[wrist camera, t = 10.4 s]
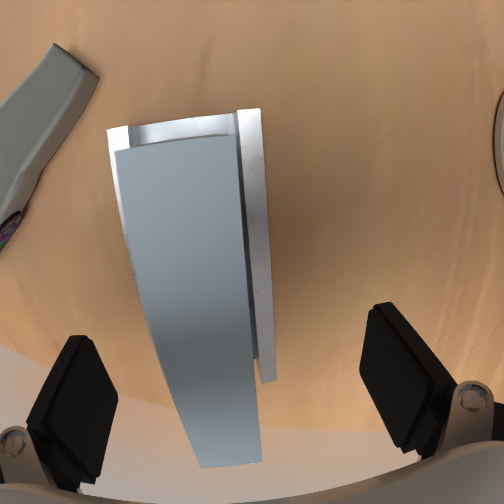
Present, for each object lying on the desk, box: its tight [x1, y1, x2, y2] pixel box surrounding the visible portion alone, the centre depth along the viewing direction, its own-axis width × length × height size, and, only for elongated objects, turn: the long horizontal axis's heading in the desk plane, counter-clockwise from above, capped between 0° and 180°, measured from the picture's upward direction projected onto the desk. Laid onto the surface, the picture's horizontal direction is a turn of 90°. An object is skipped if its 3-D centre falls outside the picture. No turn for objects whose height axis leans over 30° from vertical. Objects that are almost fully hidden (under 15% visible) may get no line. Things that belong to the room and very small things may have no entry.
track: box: [107, 109, 277, 393], centre depth 17 cm, size 16×7×4 cm, turn 4°
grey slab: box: [114, 134, 262, 468], centre depth 14 cm, size 14×3×9 cm, turn 4°
